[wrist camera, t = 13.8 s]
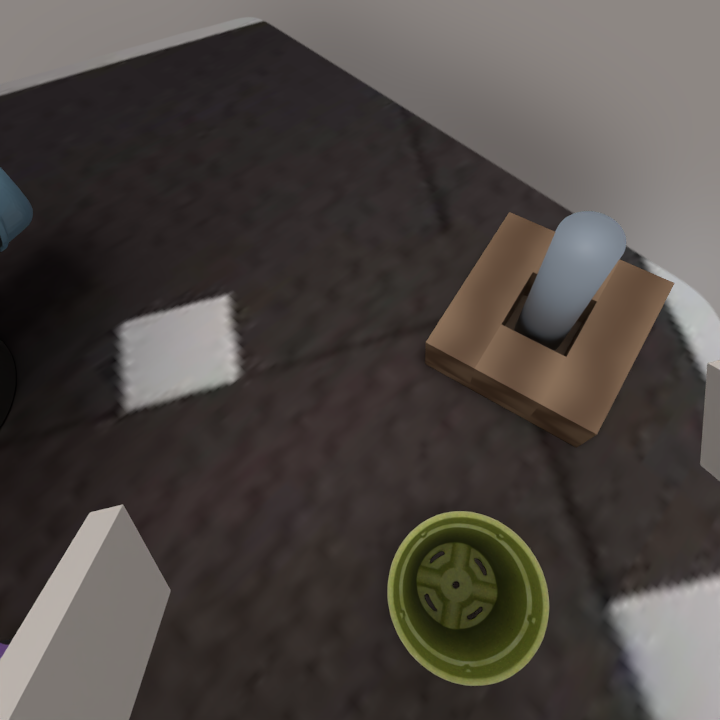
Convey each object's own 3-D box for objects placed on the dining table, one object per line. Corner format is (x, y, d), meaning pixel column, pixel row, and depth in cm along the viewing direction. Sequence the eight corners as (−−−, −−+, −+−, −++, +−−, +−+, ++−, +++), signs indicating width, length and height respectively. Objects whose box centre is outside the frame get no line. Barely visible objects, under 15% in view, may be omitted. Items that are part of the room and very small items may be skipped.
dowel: (505, 341, 42) (543, 250, 29) (527, 304, 43) (573, 201, 30) (549, 363, 41) (608, 279, 28) (570, 325, 42) (637, 227, 29)
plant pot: (465, 494, 40) (476, 480, 31) (548, 601, 36) (584, 617, 28) (370, 566, 38) (357, 571, 30) (446, 684, 35) (454, 725, 27)
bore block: (425, 363, 44) (425, 342, 39) (500, 245, 47) (509, 212, 42) (576, 447, 40) (596, 434, 35) (647, 311, 43) (674, 283, 38)
